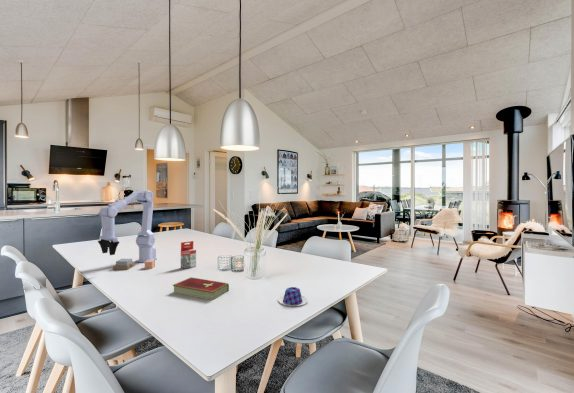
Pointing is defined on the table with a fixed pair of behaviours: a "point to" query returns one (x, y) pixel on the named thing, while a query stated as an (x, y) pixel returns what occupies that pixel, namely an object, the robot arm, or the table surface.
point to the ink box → (188, 255)
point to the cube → (149, 264)
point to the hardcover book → (201, 288)
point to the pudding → (292, 297)
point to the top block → (123, 262)
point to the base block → (123, 267)
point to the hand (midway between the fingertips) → (108, 253)
